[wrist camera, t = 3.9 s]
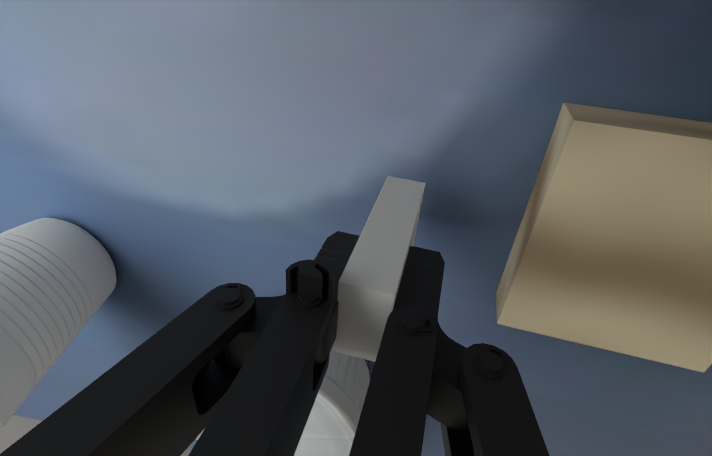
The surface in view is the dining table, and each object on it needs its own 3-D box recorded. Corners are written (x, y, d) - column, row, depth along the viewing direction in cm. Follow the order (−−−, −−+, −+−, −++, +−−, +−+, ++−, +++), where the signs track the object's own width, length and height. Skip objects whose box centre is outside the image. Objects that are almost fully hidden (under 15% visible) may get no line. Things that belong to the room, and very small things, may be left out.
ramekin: (283, 253, 22) (233, 325, 17) (424, 379, 24) (411, 469, 20) (190, 333, 28) (136, 401, 23) (310, 427, 30) (281, 503, 26)
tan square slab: (561, 98, 15) (574, 120, 13) (821, 134, 13) (884, 165, 11) (495, 286, 20) (496, 324, 18) (679, 327, 18) (704, 372, 16)
